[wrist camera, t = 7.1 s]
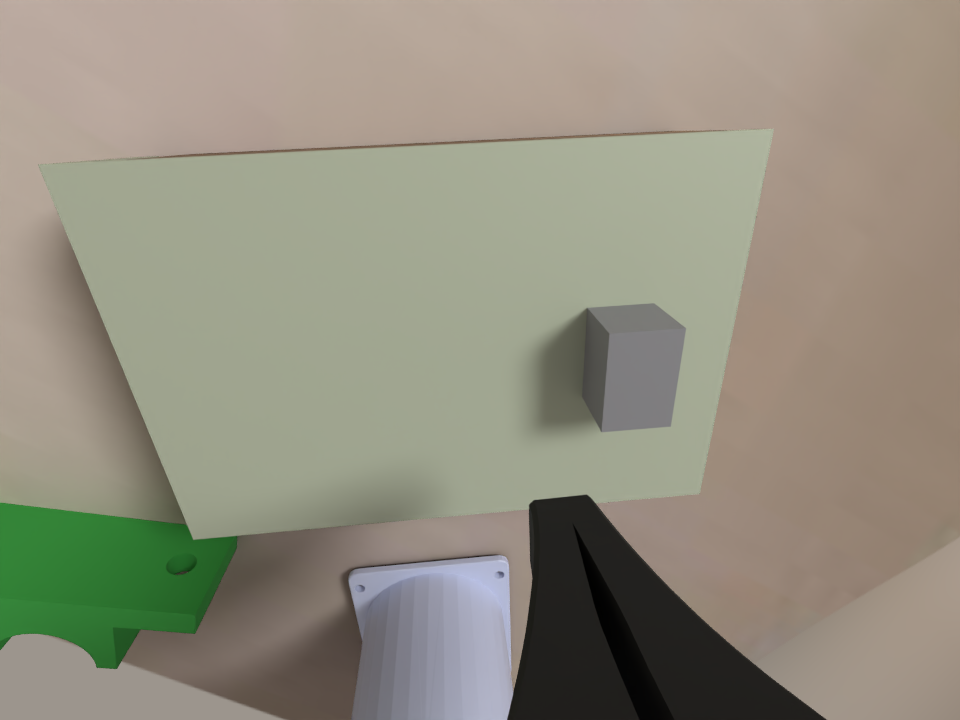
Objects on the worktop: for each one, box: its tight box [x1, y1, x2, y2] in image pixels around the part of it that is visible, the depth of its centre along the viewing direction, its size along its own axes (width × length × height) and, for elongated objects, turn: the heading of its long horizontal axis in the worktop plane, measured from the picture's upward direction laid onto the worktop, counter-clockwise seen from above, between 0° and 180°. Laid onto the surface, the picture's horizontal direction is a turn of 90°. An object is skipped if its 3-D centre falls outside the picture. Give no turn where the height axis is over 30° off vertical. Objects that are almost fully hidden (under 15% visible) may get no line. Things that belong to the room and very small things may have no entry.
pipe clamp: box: [0, 503, 237, 669], centre depth 20 cm, size 11×4×5 cm, turn 76°
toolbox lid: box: [38, 129, 774, 540], centre depth 15 cm, size 12×18×6 cm, turn 92°
